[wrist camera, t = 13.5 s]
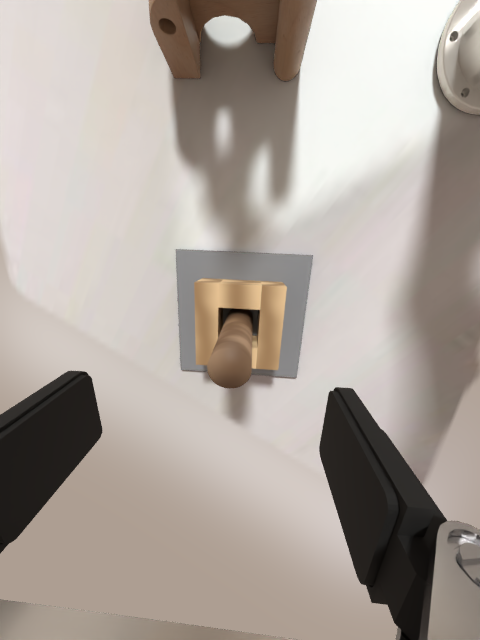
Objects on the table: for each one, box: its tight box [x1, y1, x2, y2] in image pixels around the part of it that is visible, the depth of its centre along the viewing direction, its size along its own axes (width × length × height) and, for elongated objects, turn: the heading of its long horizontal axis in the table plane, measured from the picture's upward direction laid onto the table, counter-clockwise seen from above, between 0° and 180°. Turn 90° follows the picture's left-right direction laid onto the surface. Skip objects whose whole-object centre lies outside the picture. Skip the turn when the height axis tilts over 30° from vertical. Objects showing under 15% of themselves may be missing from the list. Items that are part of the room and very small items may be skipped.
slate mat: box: [176, 249, 313, 378], centre depth 35 cm, size 20×20×1 cm
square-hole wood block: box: [194, 278, 287, 370], centre depth 33 cm, size 12×12×5 cm
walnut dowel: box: [207, 308, 253, 388], centre depth 27 cm, size 4×4×16 cm
